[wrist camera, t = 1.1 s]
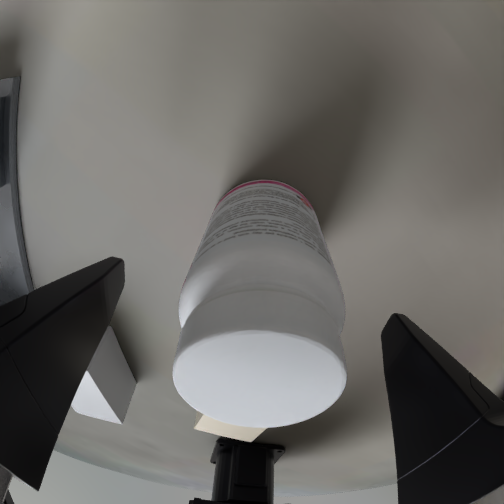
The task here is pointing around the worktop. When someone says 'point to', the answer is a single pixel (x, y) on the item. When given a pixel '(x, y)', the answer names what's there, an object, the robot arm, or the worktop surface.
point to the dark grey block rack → (10, 201)
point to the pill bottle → (261, 313)
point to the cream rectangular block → (226, 428)
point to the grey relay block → (106, 383)
